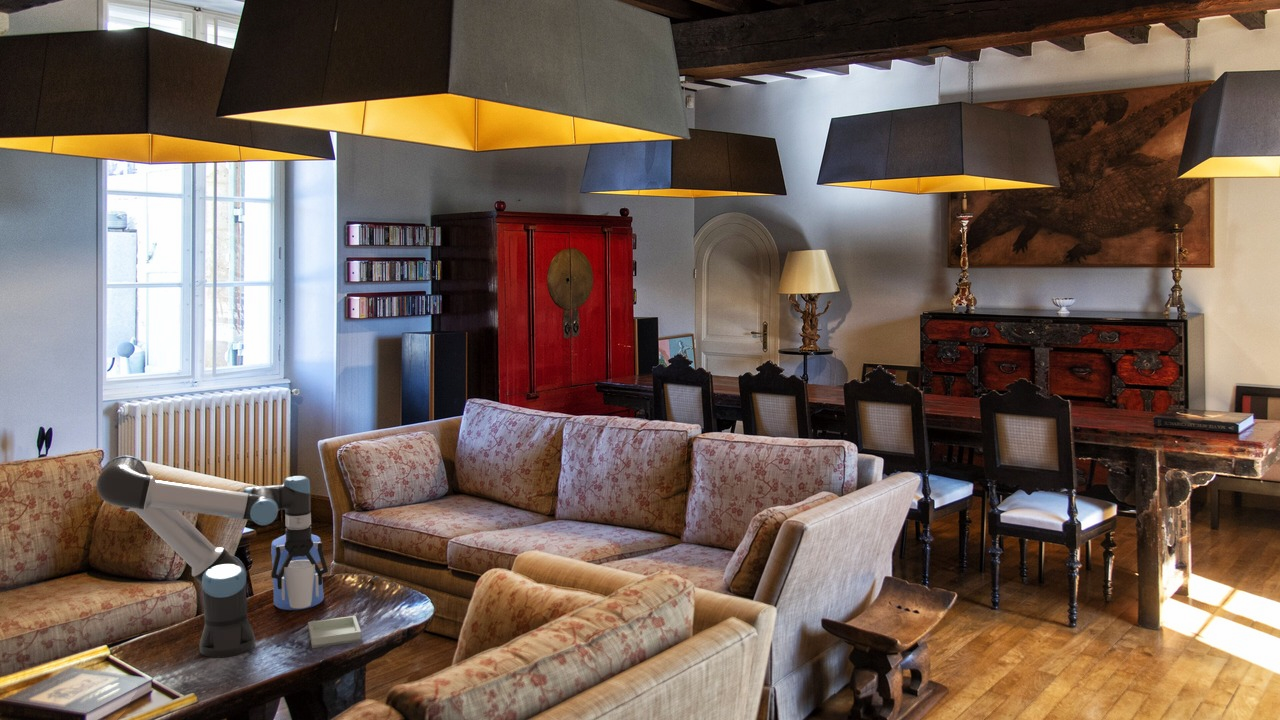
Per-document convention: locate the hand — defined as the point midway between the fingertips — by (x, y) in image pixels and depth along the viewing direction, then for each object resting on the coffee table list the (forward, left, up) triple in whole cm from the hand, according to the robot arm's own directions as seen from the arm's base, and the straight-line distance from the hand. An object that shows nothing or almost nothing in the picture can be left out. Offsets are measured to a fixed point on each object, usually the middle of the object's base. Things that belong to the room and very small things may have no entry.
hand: (300, 596), depth 330 cm
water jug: (0, +18, -8) cm, 20 cm away
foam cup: (0, 0, -3) cm, 3 cm away
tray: (+8, -16, -8) cm, 20 cm away
